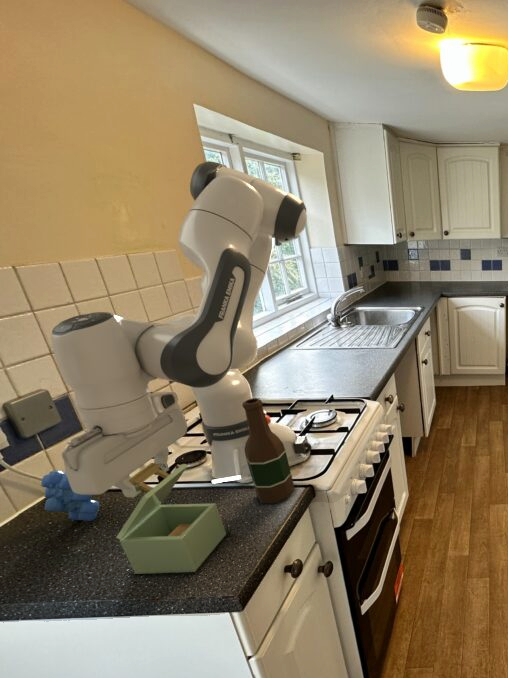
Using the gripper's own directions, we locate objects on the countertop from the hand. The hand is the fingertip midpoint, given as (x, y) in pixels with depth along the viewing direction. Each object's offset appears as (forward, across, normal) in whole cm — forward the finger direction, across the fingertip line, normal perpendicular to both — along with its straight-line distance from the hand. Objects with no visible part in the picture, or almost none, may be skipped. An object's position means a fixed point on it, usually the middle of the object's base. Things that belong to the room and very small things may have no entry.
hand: (148, 483), depth 73 cm
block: (+15, 0, -3) cm, 16 cm away
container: (+16, 0, -1) cm, 16 cm away
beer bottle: (+16, +18, -10) cm, 26 cm away
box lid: (+4, 0, 0) cm, 4 cm away
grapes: (+17, +10, +27) cm, 33 cm away
